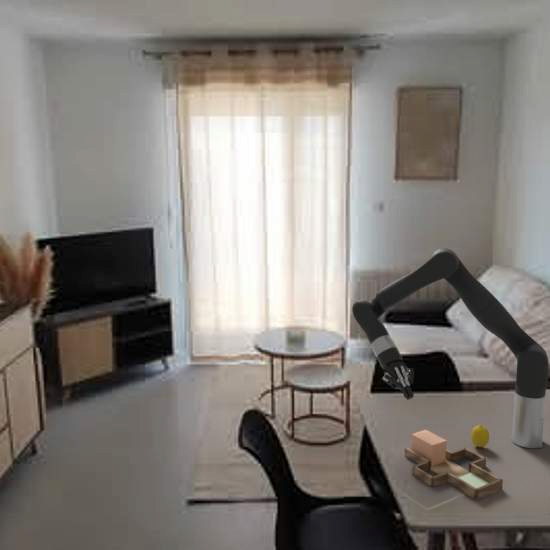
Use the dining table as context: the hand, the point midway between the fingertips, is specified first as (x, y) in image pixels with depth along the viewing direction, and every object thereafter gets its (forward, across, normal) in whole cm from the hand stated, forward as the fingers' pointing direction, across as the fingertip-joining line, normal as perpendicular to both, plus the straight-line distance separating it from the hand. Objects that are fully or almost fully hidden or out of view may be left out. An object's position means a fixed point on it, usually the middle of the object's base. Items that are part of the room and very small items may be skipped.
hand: (410, 398), depth 192 cm
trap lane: (+25, 0, 0) cm, 25 cm away
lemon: (+21, +20, +4) cm, 29 cm away
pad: (+31, 0, -7) cm, 32 cm away
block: (+18, 0, +6) cm, 19 cm away
